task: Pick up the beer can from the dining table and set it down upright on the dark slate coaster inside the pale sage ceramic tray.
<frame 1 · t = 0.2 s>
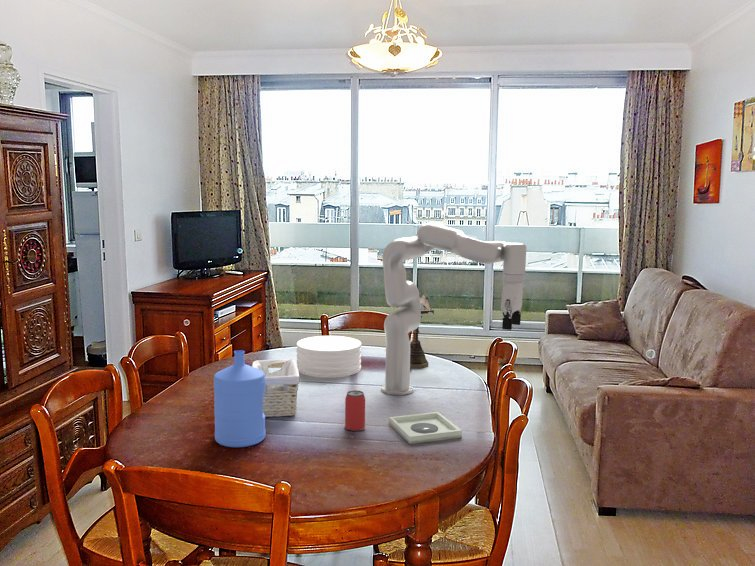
hand: (511, 326, 227), 31 cm above the table, tool pointing down, fingers open, 9 cm apart
beer can: (354, 428, 213), on the table
bird statue: (418, 366, 289), on the table
water jug: (240, 439, 203), on the table
coaster tray: (424, 430, 212), on the table
plate stack: (328, 368, 283), on the table
storage basket: (275, 407, 232), on the table
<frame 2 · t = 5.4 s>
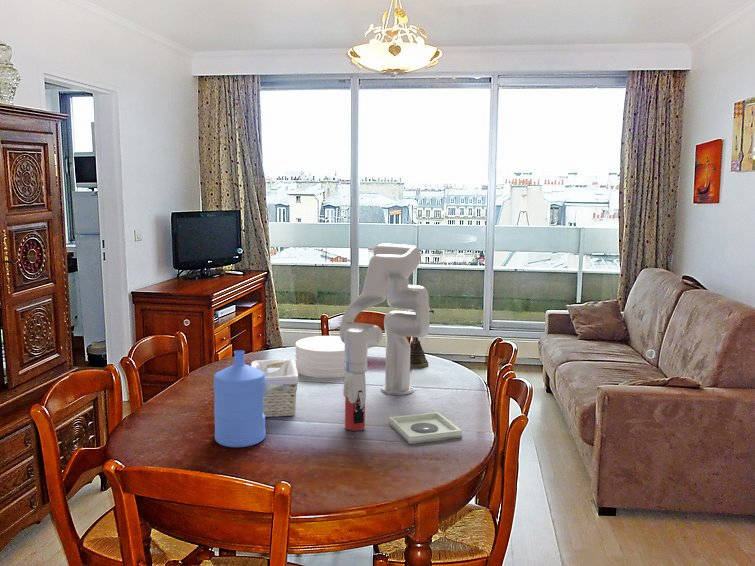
hand: (354, 418, 213), 3 cm above the table, tool pointing down, fingers closed on beer can, 6 cm apart
beer can: (354, 428, 213), on the table, touching gripper
everything else where it was.
when the fingers open (6 cm above the table, at t = 11.8 s): beer can drops 1 cm, resting on coaster tray.
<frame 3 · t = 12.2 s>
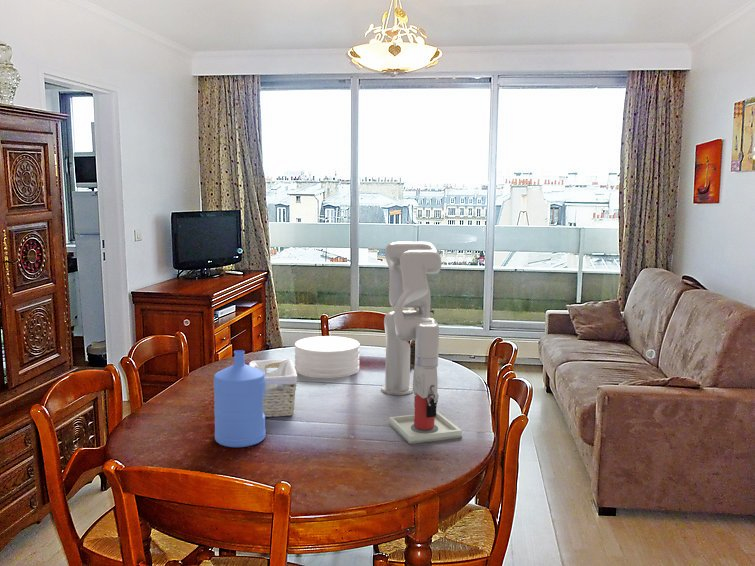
hand: (424, 411, 211), 6 cm above the table, tool pointing down, fingers open, 9 cm apart
beer can: (424, 428, 212), point 1 cm above the table, touching coaster tray
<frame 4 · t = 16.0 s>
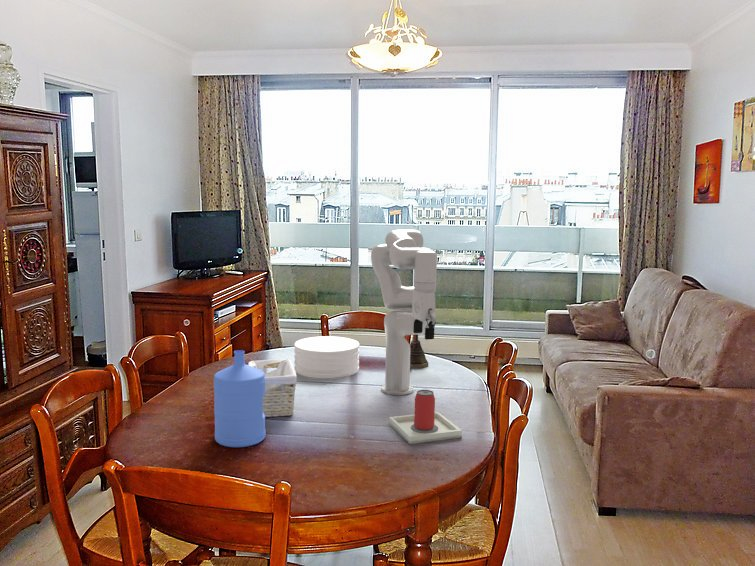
hand: (423, 335, 223), 28 cm above the table, tool pointing down, fingers open, 9 cm apart
at the end: beer can inside the target area on the coaster tray (0.2 cm from its centre), point 0.8 cm above the coaster tray's base; beer can tilted 0°; the gripper is holding nothing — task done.
